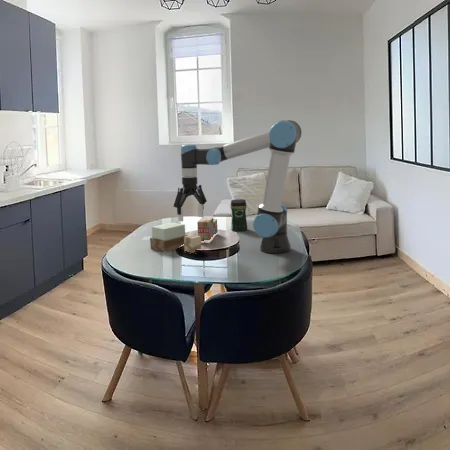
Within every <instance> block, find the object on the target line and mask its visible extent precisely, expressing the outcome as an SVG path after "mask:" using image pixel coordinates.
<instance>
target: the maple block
mask: <svg viewBox="0 0 450 450" xmlns="http://www.w3.org/2000/svg"><path fill="white" fill-rule="evenodd" d="M183 248H184V252H185V251H187V252H190V253H189V254H191V253H194V252H195V250H197V249H201V250H202V244H201V236H198V234H197V235H196V234H189V235H188V236H185V237H184V247H183Z"/></svg>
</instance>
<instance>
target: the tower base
mask: <svg viewBox="0 0 450 450" xmlns="http://www.w3.org/2000/svg"><path fill="white" fill-rule="evenodd" d="M185 236H189V235H188V234H185ZM185 236H182V237H178V238H174V239H170V240H165V241H164V240H159V239H155V238H153V237H150V238H149V239H150V241H149V242H150V244H149V245H150V249H152V250H156V251H159V252H163V253H167V252H170V251H171V252H172V251H174V250H178V249H177V248H178V247H179V246H181V245H183V244H184V237H185Z"/></svg>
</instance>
